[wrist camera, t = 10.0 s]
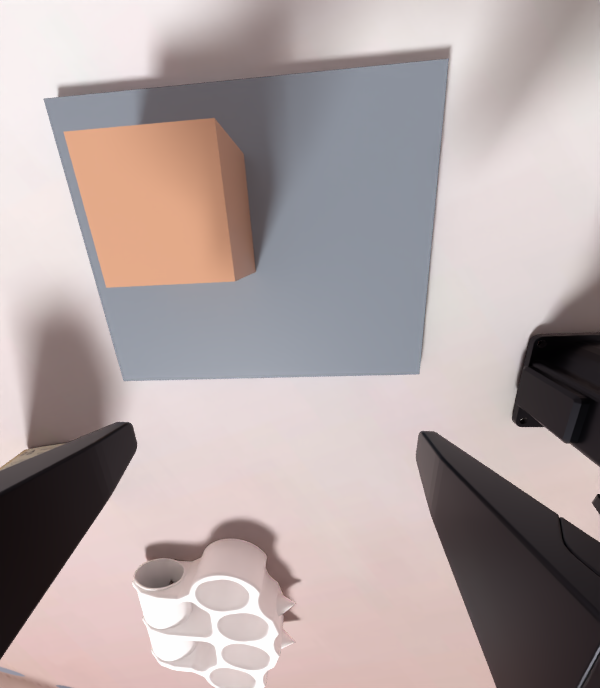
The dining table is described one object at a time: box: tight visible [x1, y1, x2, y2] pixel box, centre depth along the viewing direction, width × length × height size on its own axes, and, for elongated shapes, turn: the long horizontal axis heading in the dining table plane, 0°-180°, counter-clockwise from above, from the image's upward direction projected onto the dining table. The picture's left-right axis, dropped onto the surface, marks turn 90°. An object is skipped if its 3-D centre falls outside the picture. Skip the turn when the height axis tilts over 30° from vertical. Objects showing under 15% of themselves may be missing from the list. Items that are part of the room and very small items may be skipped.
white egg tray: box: [132, 539, 296, 688], centre depth 27 cm, size 3×18×15 cm
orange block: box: [64, 118, 256, 288], centre depth 14 cm, size 6×6×4 cm
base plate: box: [44, 59, 449, 381], centre depth 15 cm, size 20×16×4 cm
